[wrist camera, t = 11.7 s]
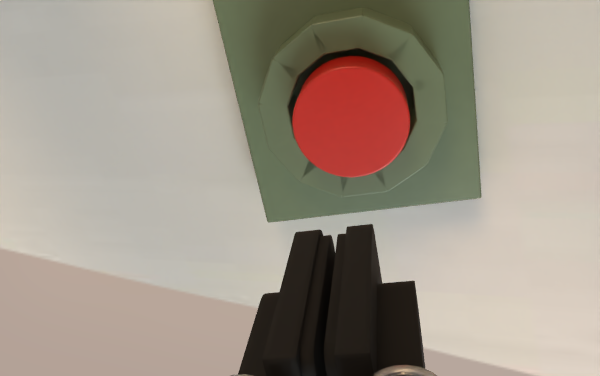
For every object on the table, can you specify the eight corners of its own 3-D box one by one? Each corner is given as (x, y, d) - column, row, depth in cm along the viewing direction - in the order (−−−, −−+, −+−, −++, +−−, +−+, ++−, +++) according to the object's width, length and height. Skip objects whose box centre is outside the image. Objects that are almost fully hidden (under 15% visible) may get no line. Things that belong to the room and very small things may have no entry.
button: (287, 65, 22) (281, 76, 20) (400, 46, 21) (403, 56, 19) (308, 167, 24) (303, 184, 22) (413, 153, 23) (416, 170, 21)
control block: (220, -19, 24) (194, -8, 21) (457, -67, 22) (473, -63, 19) (274, 204, 29) (260, 244, 25) (474, 179, 27) (490, 220, 23)
